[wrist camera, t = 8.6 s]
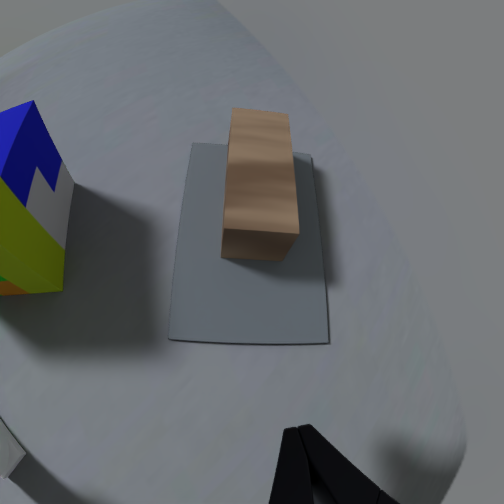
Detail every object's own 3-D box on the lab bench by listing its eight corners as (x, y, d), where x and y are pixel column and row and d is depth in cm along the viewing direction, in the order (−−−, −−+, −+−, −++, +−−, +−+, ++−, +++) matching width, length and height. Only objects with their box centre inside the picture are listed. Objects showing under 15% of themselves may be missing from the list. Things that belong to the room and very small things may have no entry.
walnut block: (299, 233, 17) (287, 114, 22) (223, 228, 17) (232, 107, 21) (282, 261, 21) (276, 149, 26) (220, 257, 21) (228, 144, 25)
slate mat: (326, 342, 20) (328, 342, 20) (168, 339, 18) (168, 338, 18) (309, 156, 27) (310, 154, 26) (192, 144, 25) (192, 142, 25)
